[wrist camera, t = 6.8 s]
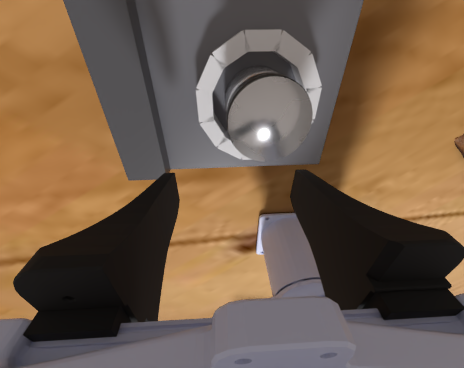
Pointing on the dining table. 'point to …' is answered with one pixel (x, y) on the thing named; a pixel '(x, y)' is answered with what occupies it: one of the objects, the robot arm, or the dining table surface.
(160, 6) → the camera body
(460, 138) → the sunglasses case
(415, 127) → the dining table surface
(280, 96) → the lens
